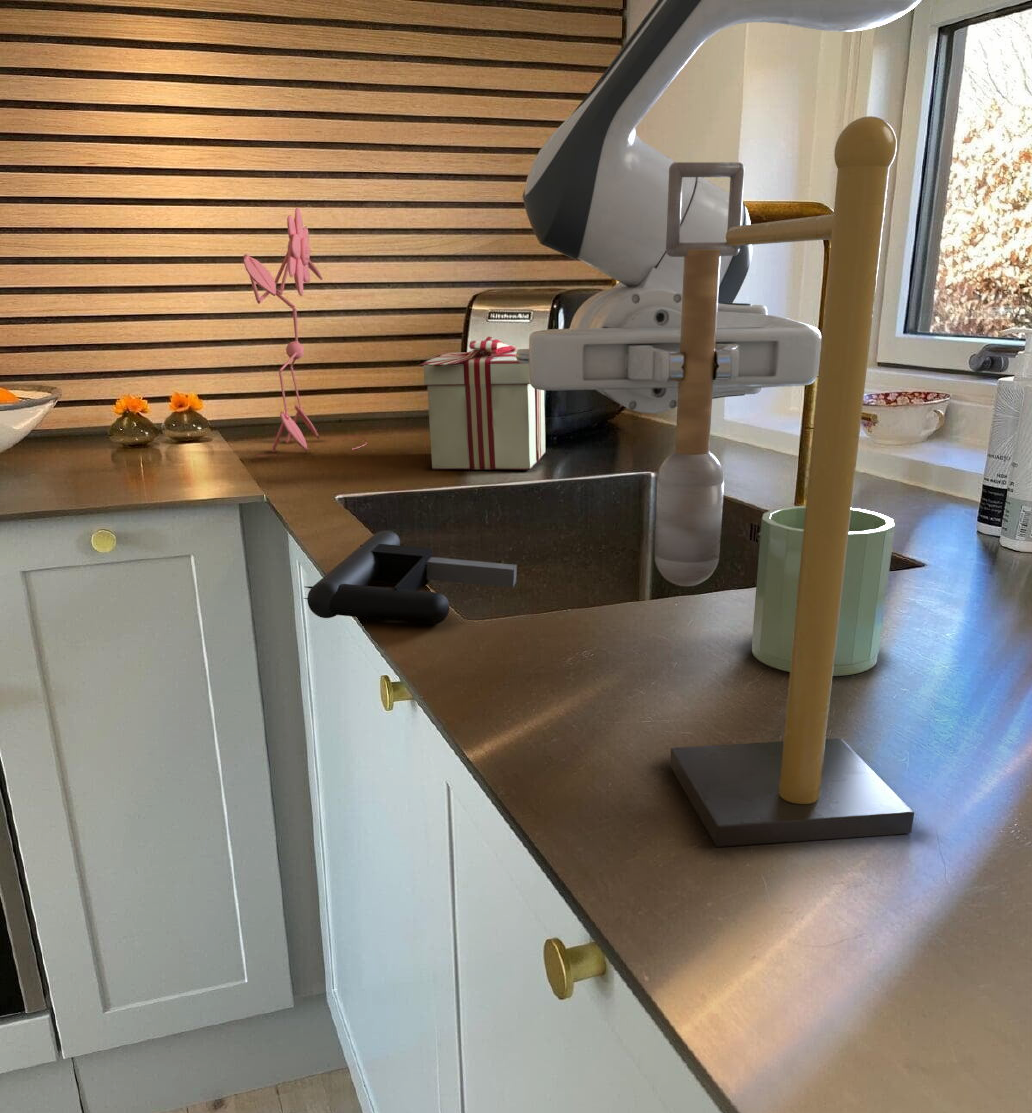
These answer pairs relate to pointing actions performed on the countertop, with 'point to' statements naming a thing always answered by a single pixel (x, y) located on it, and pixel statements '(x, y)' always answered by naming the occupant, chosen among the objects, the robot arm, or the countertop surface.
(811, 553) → the stand
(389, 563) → the black frame with bar
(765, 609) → the crock
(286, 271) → the figurine
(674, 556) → the square loop wand
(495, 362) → the gift box
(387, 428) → the countertop surface
